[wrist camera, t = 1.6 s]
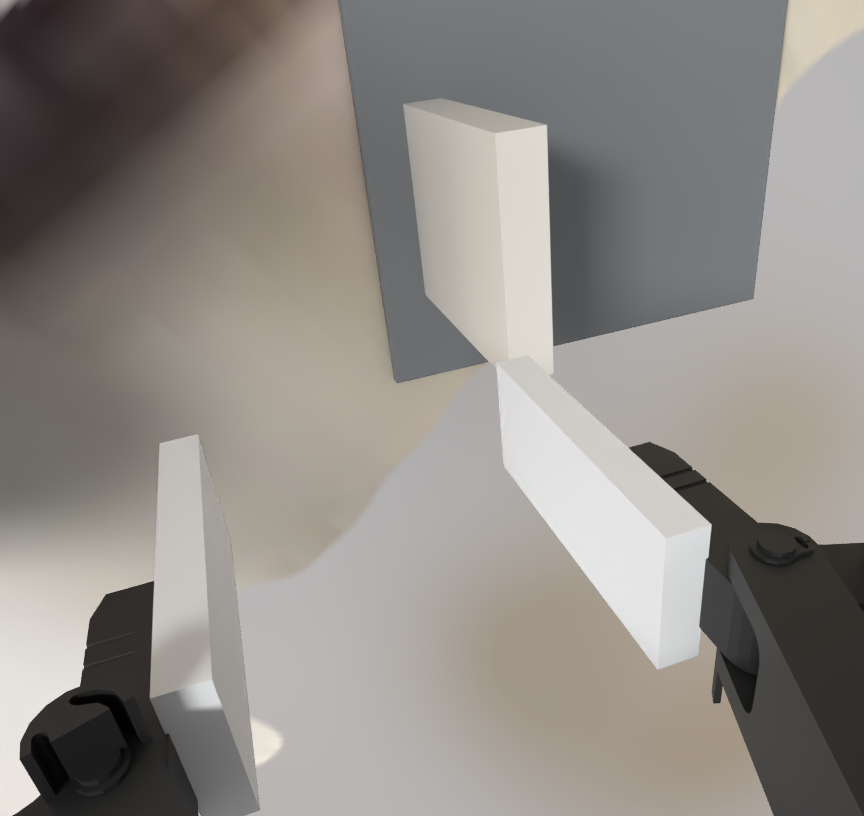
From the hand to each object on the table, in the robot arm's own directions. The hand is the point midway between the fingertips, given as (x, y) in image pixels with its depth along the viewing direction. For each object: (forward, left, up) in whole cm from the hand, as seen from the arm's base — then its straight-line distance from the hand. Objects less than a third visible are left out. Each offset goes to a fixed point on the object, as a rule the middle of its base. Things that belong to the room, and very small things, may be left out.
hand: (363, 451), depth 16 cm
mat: (+16, 0, -21) cm, 26 cm away
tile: (+8, 0, -20) cm, 22 cm away
